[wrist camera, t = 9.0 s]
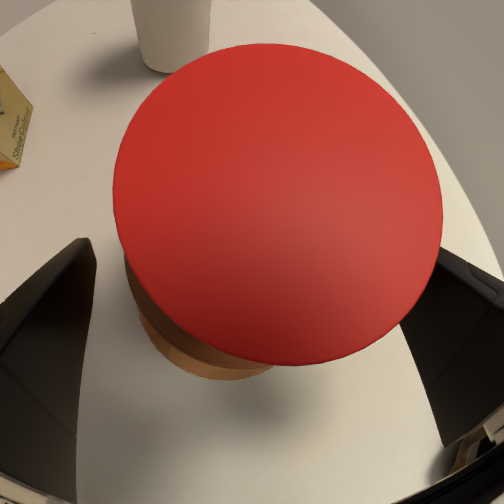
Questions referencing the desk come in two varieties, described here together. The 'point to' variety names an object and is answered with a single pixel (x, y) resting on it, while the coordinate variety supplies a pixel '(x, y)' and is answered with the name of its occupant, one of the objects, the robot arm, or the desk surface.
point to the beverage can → (171, 31)
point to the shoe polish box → (12, 122)
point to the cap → (277, 204)
